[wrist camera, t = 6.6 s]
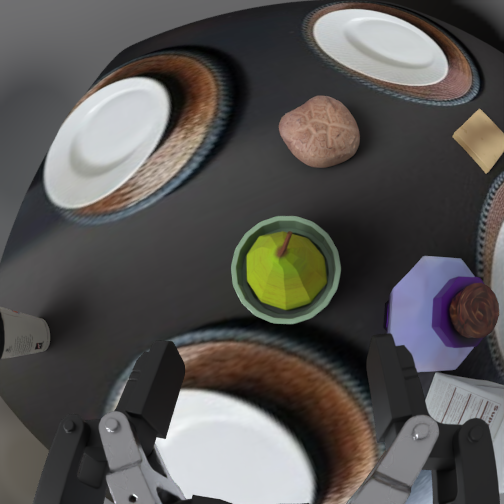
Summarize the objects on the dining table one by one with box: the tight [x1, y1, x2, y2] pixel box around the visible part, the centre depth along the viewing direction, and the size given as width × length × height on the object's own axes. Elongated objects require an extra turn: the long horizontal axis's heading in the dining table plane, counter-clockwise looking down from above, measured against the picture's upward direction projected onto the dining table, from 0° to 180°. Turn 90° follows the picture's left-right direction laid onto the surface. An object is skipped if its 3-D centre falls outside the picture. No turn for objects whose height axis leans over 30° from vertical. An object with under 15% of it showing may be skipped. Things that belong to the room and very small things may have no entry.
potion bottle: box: [384, 256, 499, 372], centre depth 17 cm, size 9×9×12 cm
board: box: [452, 109, 504, 174], centre depth 24 cm, size 6×8×1 cm
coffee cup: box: [0, 307, 50, 359], centre depth 25 cm, size 7×7×10 cm
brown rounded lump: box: [279, 96, 360, 168], centre depth 26 cm, size 8×6×8 cm
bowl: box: [231, 216, 341, 324], centre depth 24 cm, size 8×8×4 cm
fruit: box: [247, 231, 327, 311], centre depth 20 cm, size 6×6×12 cm
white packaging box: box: [425, 372, 504, 494], centre depth 14 cm, size 7×7×13 cm
